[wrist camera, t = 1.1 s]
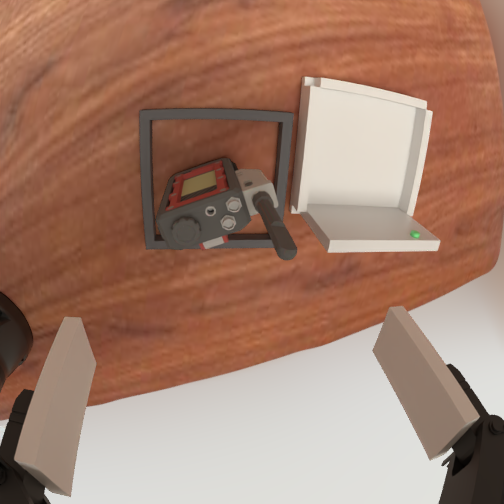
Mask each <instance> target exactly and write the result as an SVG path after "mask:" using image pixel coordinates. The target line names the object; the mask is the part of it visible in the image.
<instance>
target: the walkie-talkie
mask: <svg viewBox="0 0 504 504" xmlns="http://www.w3.org/2000/svg"><path fill="white" fill-rule="evenodd" d="M277 207H278V201H277V197H276V193H275V190H274V186H273V184H272V182H271V181H270V180H267V178H266V177H265V176H264V174H263V173H262V171H261V170H259V169H240V170H238V169H237V166H236V164H235V163H233V162H231V160H230V159H228V158H220V159H217V160H214V161H211V162H208V163H205V164H202V165H199V166H197V167H194V168H191V169H188V170H185V171H182V172H180V173H177V174H175V175H174V176H172V177H171V178H170V179H169V181H168V184H167V186H166V189H165V193H164V195H163V199H162V201H161V204H160V207H159V210H158V213H157V216H156V219H155V220H156V223H157V225H158V229H159V232H160V234H161V236H162V238H163V239H164V240H165V243H166V245H167V247H168V248H169V249H175V250H182V249H185V248H188V247H191V246H194V245H197V244H199V246H200V248H201V249H202V250H205V249H208V248H211V247H214V246H217V245H220V244H223V243H226V242H229V240H228V234H231V233H234V232H237V231H240V230H241V229H243V228H244V227H245V226H246V225H247V224H248V223H249V222H250V221H251V217H250V216H252V215H255V214H258V213H260V215H261V217H262V219H263V222H264V224H265V226H266V229H267V231H268V233H269V236H270V238H271V240H272V243H273V245H274V247H275V250H276V252H277V254H278V256H279V257H280V258H281V259H283V260H291V259H293V258H294V257H295V255H296V253H297V247H296V245H295V243H294V241H293V239H292V238H291V236H290V234H289V232H288V230H287V229H286V227H285V225H284V223H283V222H282V220H281V218H280V216H279V215H278V213H277V211H276V209H275V208H277Z"/></svg>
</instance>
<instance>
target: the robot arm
mask: <svg viewBox="0 0 504 504" xmlns="http://www.w3.org/2000/svg"><path fill="white" fill-rule="evenodd" d="M32 343H33V339H32V333H31V330H30V327H29V325H28V323H27V321H26V319H25V318H24V316H23V315H22V313H21V312H20V311H19V309H18V308H17V307H16V306H15V305H14V304H13V303H12V302H11V301H10V300H9V299H8V298H7V297H5V296H4V295H3V294H1V293H0V392H1V389H2V387H3V384H4V382H5V380H6V378H7V377H8V376H9V375H10V374H11V373H13V371H14V370H15V369H16V368H17V367H18V366H19V365H21V364H22V363H23V362H24V361H25V360H26V358H27V357H28V354H29V352H30V350H31V348H32ZM373 353H374V354H375V356H376V358H377V360H378V362H379V363H380V365H381V367H382V369H383V371H384V373H385V374H386V376H387V378H388V380H389V382H390V384H391V385H392V387H393V389H394V391H395V392H396V395H397V397H398V398H399V400H400V402H401V404H402V406H403V408H404V410H405V412H406V414H407V416H408V418H409V420H410V421H411V423H412V425H413V427H414V429H415V431H416V433H417V435H418V437H419V439H420V441H421V443H422V445H423V447H424V449H425V451H426V453H427V455H428V458H429V460H433V459H435V458H438V457H440V456H442V455H444V454H445V453H446V452H447V451H448V450H449V449H450V448H451V447H452V449H453V451H454V452H453V453H452V454H451V455H450V456H449V457H448V458H447V459H445V460H444V461H443V463H442V466H444V465H445V464H446V463H447V462H449V464H448V465H447V467H448V471H447V474H446V478H445V482H444V486H443V490H442V494H441V497H440V501H439V504H504V420H503V419H502V418H501V417H499V416H497V415H489V414H488V413H487V412H486V410H485V408H484V407H483V405H482V404H481V402H480V401H479V399H478V397H477V396H476V394H475V393H474V392H473V390H472V389H470V386H469V384H468V383H467V382H466V381H465V378H464V377H463V376H462V374H461V373H460V371H459V370H458V369H456V368H455V367H454V366H453V365H452V364H448V365H446V364H445V363H444V361H443V360H442V358H441V357H440V356H439V354H438V353H437V352H436V350H435V349H434V347H433V346H432V345H431V343H430V342H429V340H428V339H427V338H426V336H425V335H424V333H423V332H422V331H421V329H420V328H419V327H418V325H417V324H416V323H415V321H414V320H413V319H412V317H411V316H410V315H409V313H408V312H407V311H406V309H405V308H404V307H403V306H397V307H389V310H388V313H387V315H386V318H385V321H384V323H383V326H382V328H381V331H380V333H379V336H378V339H377V341H376V343H375V346H374V348H373ZM96 364H97V363H96V361H95V358H94V355H93V353H92V350H91V347H90V344H89V341H88V338H87V335H86V332H85V329H84V326H83V323H82V320H81V317H64V319H63V321H62V324H61V326H60V328H59V330H58V333H57V335H56V337H55V340H54V342H53V344H52V347H51V349H50V352H49V354H48V357H47V359H46V362H45V364H44V367H43V369H42V372H41V375H40V377H39V380H38V383H37V385H36V388H35V391H32V390H26V389H24V390H23V391H22V392H21V393H20V395H19V396H18V397H17V398H16V400H15V403H14V405H13V408H12V413H11V414H10V417H9V422H8V423H7V426H6V429H5V432H4V435H3V439H2V442H1V446H0V504H50V502H49V500H48V499H47V497H46V496H45V495H44V490H45V487H46V488H47V489H48V490H49V491H51V492H52V493H56V494H60V495H65V496H69V497H71V490H72V482H73V475H74V469H75V462H76V456H77V450H78V444H79V439H80V434H81V428H82V423H83V419H84V414H85V409H86V405H87V400H88V396H89V392H90V388H91V384H92V379H93V376H94V372H95V368H96Z"/></svg>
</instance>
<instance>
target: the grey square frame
mask: <svg viewBox="0 0 504 504" xmlns="http://www.w3.org/2000/svg"><path fill="white" fill-rule="evenodd" d="M293 115H294V113H291V112H281V111H267V110H250V109H224V108H173V109H147V110H140V167H141V188H142V205H143V219H144V231H145V242H146V249H169V248H168V247H167V245H166V243H165V240H164V239H163V238H162V236H161V235H156V229H155V214H154V195H153V168H152V120H168V119H231V120H256V121H273V122H280V123H279V135H278V146H277V158H276V169H275V181H274V190H275V193H276V197H277V201H278V207H277V208H275V209H276V211H277V213H278V215H279V216H280V218H281V220H282V222H283V216H284V207H285V197H286V188H287V178H288V168H289V158H290V148H291V137H292V127H293ZM228 240H229V242H226V243H223V244H220V245H217V246H214V247H211V248H208V249H212V248H275V247H274V245H273V243H272V240H271V238H270V236H269V234H228ZM185 249H201V248H200V246H199V244H197V245H194V246H191V247H188V248H185Z"/></svg>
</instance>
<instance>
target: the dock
mask: <svg viewBox="0 0 504 504" xmlns="http://www.w3.org/2000/svg"><path fill="white" fill-rule="evenodd" d="M426 108H427V101H424V100H421V99H417V98H414V97H410V96H406V95H403V94H399V93H395V92H391V91H387V90H383V89H378V88H374V87H370V86H365V85H360V84H355V83H350V82H345V81H339V80H333V79H327V78H312V77H302V86H301V97H300V109H299V120H298V130H297V140H296V151H295V160H294V170H293V179H292V189H291V198H290V206H289V211H290V212H291V213H298V214H301V216H302V217H303V218H304V220H305V221H306V223H307V224H308V225H309V227H310V228H311V230H312V231H313V232H314V234H315V235H316V237H317V238H318V239H319V241H320V242H321V244H322V245H323V246H324V248H325V249H326V251H327V252H392V251H437V250H438V247H439V244H440V240H439V239H438V238H437V237H436V236H434V235H433V234H432V233H431V232H429V231H428V230H427V229H425V228H424V227H423V226H422V225H420V224H419V223H418V222H416V221H415V220H414V219H413V218H411V217H410V216H413V212H414V208H415V204H416V200H417V196H418V191H419V187H420V182H421V177H422V172H423V167H424V162H425V157H426V151H427V146H428V140H429V133H430V127H431V120H432V113H433V112H432V111H429V110H426Z"/></svg>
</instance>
